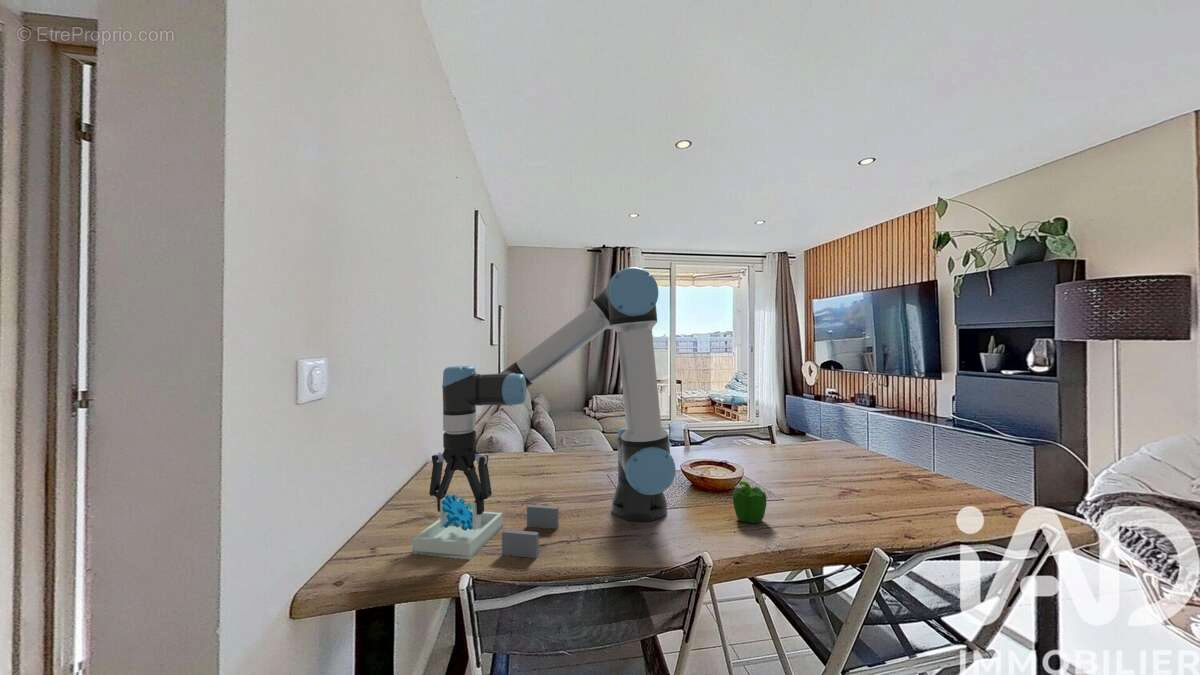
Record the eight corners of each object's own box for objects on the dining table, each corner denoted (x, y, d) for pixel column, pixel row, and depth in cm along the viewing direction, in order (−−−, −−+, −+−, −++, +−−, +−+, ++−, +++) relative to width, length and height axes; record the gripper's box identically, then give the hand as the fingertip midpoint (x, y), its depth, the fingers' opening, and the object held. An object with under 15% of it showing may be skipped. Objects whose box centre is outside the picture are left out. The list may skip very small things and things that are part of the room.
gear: (464, 531, 98) (438, 497, 101) (446, 550, 98) (420, 514, 101) (487, 518, 109) (462, 487, 111) (470, 535, 109) (446, 503, 112)
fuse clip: (558, 526, 111) (558, 506, 111) (536, 558, 95) (536, 535, 95) (529, 524, 113) (528, 504, 113) (502, 554, 97) (501, 532, 97)
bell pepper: (769, 517, 116) (768, 479, 116) (764, 529, 108) (764, 488, 108) (736, 511, 120) (735, 474, 120) (730, 522, 112) (729, 483, 112)
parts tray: (503, 526, 112) (502, 512, 112) (470, 559, 95) (469, 543, 95) (453, 522, 114) (452, 509, 114) (412, 554, 98) (412, 538, 98)
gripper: (506, 428, 106) (507, 522, 106) (430, 426, 111) (431, 516, 110) (492, 435, 99) (493, 536, 99) (411, 432, 103) (412, 529, 103)
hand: (460, 526), depth 105 cm, fingers closed on gear, 8 cm apart
